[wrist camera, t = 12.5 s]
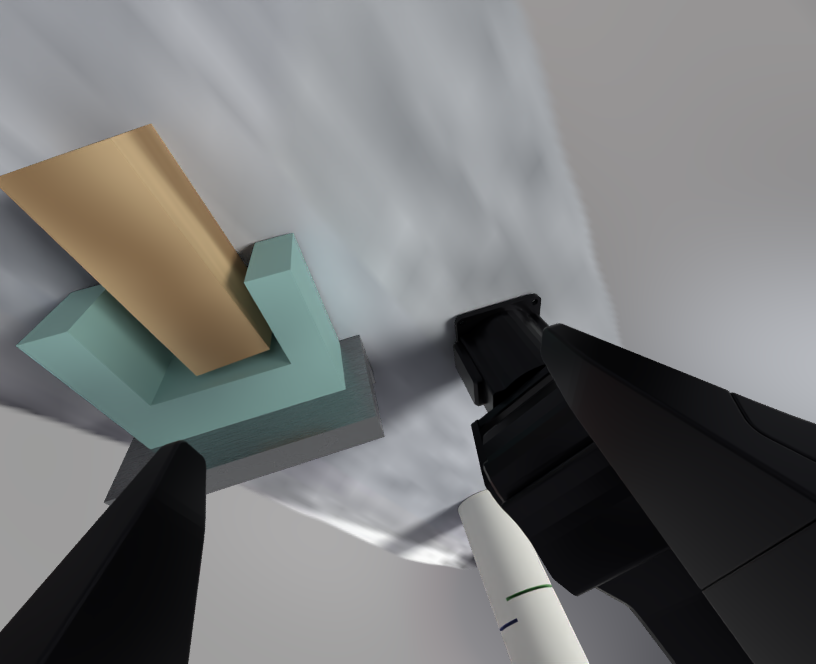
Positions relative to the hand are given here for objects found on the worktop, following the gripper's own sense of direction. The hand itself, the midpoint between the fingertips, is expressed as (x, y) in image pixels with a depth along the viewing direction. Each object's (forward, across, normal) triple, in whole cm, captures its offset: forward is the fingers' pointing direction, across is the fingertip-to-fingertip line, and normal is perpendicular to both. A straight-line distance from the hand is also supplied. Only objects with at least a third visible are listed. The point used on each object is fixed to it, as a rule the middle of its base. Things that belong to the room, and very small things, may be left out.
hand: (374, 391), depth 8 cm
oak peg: (+13, +8, 0) cm, 15 cm away
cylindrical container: (+13, -7, +42) cm, 44 cm away
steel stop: (+12, +8, +9) cm, 17 cm away
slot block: (+12, +8, +4) cm, 15 cm away
